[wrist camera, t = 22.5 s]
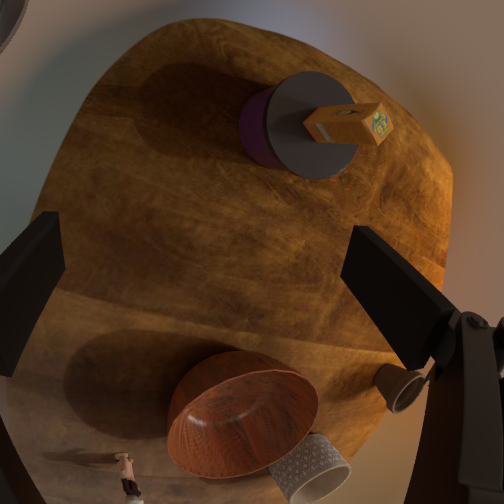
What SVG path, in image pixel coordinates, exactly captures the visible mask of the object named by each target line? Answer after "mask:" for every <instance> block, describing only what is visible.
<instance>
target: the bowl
mask: <svg viewBox="0 0 504 504" xmlns="http://www.w3.org/2000/svg"><path fill="white" fill-rule="evenodd" d="M319 405H320V397H319V394H318V391H317V388H316V386H315V385H314V384H313V383H312V382H311V381H310V380H309V379H308V378H307V377H306V376H305V375H303V374H302V373H300V372H298V371H297V370H295V369H294V368H292V367H290V366H288V365H286V364H284V363H282V362H280V361H278V360H276V359H274V358H272V357H270V356H267V355H265V354H261V353H256V352H250V351H243V350H241V351H227V352H223V353H220V354H216V355H213V356H211V357H209V358H207V359H205V360H203V361H201V362H199V363H198V364H196V365H195V366H194V367H193V368H191V369H190V370H189V371H188V372H187V373H186V374H185V375H184V377H183V378H182V379H181V381H180V382H179V383H178V385H177V387H176V389H175V391H174V394H173V397H172V399H171V402H170V405H169V410H168V417H167V450H168V452H169V454H170V457H171V459H172V461H173V462H174V463H175V464H176V465H177V466H179V467H180V468H181V469H182V470H183V471H186V472H188V473H190V474H193V475H195V476H199V477H205V478H211V479H217V478H232V477H237V476H242V475H247V474H250V473H253V472H255V471H258V470H261V469H263V468H265V467H267V466H269V465H271V464H273V463H275V462H277V461H279V460H280V459H281V458H283V457H284V456H286V455H287V454H288V453H290V452H291V451H292V450H294V449H295V448H296V447H297V445H298V444H299V443H300V442H301V441H302V440H303V439H304V438H305V437H306V436H307V434H308V433H309V431H310V430H311V428H312V427H313V425H314V423H315V421H316V418H317V415H318V413H319Z"/></svg>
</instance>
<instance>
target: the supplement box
mask: <svg viewBox="0 0 504 504" xmlns="http://www.w3.org/2000/svg"><path fill="white" fill-rule="evenodd" d="M303 124H304V126H305V127H306V128H307V130H308V131H309V132H310V134H311V135H312V137H313V138H314V139H315V141H316V142H322V143H346V144H364V145H377V146H378V145H379V144H380V143H381V142H382V141H383V140H384V139H385V137H386V136H387V135H388V134H389V133H390V132H391V131H392V130H393V128H394V127H393V125H392V122H391V120H390V118H389V116H388V114H387V112H386V111H385V109H384V107H383V105H382V103H367V104H350V105H337V106H327V107H319V108H318V109H317V110H315V111H314V112H313V113H312V114H311V115H310V116H309V117H308V118H307V119H306V120H305V121H304V122H303Z"/></svg>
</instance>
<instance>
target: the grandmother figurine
mask: <svg viewBox="0 0 504 504" xmlns="http://www.w3.org/2000/svg"><path fill="white" fill-rule="evenodd" d="M115 458H116V459H118V460H119V462H118V463H117V466H118V469H119V472H120V475H121V481H122V483H123V489H124V491H125V492H126V494H127V496H126V498H125V501H126V503H127V504H143V503H144V501H143V500H142V499H140V500H139V498H138V497H139V496H140V495H141V492H140V488H139V487H137V484H136V482H135V480H134V476H133V471H132V463H133V460H132V459H130V458H129V459H127V458H128V454H127V453H116V454H115Z"/></svg>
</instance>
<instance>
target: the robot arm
mask: <svg viewBox="0 0 504 504" xmlns="http://www.w3.org/2000/svg"><path fill="white" fill-rule="evenodd" d="M2 5H3V0H0V11H1V8H2ZM64 271H65V263H64V256H63V249H62V241H61V233H60V224H59V214H58V212H42V213H41V214H40V215H39V216H38V217H37V218H36V219H35V220H34V221H33V222H32V223H31V224H30V225H29V226H28V227H27V228H26V229H25V230H24V231H23V232H22V233H21V234H20V235H19V236H18V237H17V238H16V239H15V240H14V241H13V242H12V243H11V244H10V245H9V247H7V249H6V250H5V251H4V252H3V253H2V254H1V255H0V375H2V376H7V377H12V375H13V372H14V370H15V368H16V365H17V363H18V361H19V358H20V356H21V354H22V352H23V349H24V347H25V345H26V343H27V341H28V339H29V337H30V334H31V332H32V330H33V328H34V326H35V324H36V322H37V320H38V318H39V316H40V314H41V312H42V310H43V309H44V307H45V305H46V303H47V301H48V299H49V297H50V295H51V294H52V292H53V290H54V288H55V286H56V285H57V283H58V281H59V279H60V277H61V276H62V274H63V272H64ZM340 277H341V278H342V280H343V281H344V282H345V284H346V285H347V286H348V288H349V289H350V290H351V292H352V293H353V294H354V296H355V297H356V299H357V300H358V301H359V303H360V304H361V305H362V307H363V308H364V309H365V311H366V312H367V314H368V315H369V316H370V318H371V319H372V320H373V322H374V323H375V325H376V326H377V327H378V329H379V330H380V332H381V333H382V334H383V336H384V337H385V339H386V340H387V342H388V343H389V344H390V346H391V347H392V349H393V350H394V352H395V353H396V354H397V356H398V357H399V359H400V360H401V362H402V363H403V365H404V366H405V368H406V369H407V371H408V372H409V371H414V370H418V369H422V368H424V366H425V365H426V363H427V361H428V359H429V358H430V356H431V357H432V358H433V359H434V360H435V363H434V365H433V366H432V368H431V370H430V371H429V373H428V374H427V376H426V378H425V379H424V381H423V383H422V384H423V385H425V383H426V382H427V381H428V380H430V383H429V385H428V386H429V389H428V397H427V404H426V410H425V416H424V421H423V427H422V433H421V437H420V442H419V447H418V451H417V456H416V460H415V464H414V468H413V472H412V476H411V480H410V483H409V487H408V490H407V494H406V497H405V500H404V504H504V377H503V378H502V377H501V375H500V373H501V372H502V370H503V369H504V317H503V318H501V319H500V321H499V323H498V325H497V327H496V328H495V327H490V326H489V325H488V323H487V321H486V320H485V319H483V318H482V317H481V316H480V315H478V314H476V313H473V312H463V313H461V312H460V311H459V310H458V309H457V308H456V307H455V306H454V305H453V304H452V303H451V302H450V301H449V300H448V299H447V298H446V297H445V296H444V295H442V293H441V292H440V291H439V290H437V288H436V287H435V286H434V285H432V284H431V283H430V282H429V281H428V280H427V279H426V278H425V277H424V276H423V275H422V274H421V273H420V272H418V271H417V270H416V269H415V268H414V267H413V266H412V265H411V264H410V263H409V262H408V261H407V260H405V259H404V258H403V257H402V256H401V255H400V254H399V253H398V252H397V251H395V250H394V249H393V248H392V247H391V246H390V245H389V244H387V243H386V242H385V241H384V240H383V239H382V238H381V237H379V236H378V235H377V234H376V233H375V232H374V231H372V230H371V229H370V228H369V227H368V226H358V225H354V227H353V231H352V235H351V239H350V243H349V246H348V250H347V254H346V257H345V261H344V264H343V268H342V271H341V275H340ZM0 504H46V502H45V501H44V499H43V497H42V496H41V494H40V493H39V491H38V489H37V488H36V486H35V484H34V483H33V481H32V479H31V477H30V476H29V474H28V472H27V470H26V468H25V466H24V465H23V463H22V461H21V459H20V457H19V455H18V453H17V451H16V449H15V447H14V445H13V443H12V441H11V438H10V436H9V434H8V432H7V430H6V427H5V425H4V423H3V420H2V418H1V416H0Z"/></svg>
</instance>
